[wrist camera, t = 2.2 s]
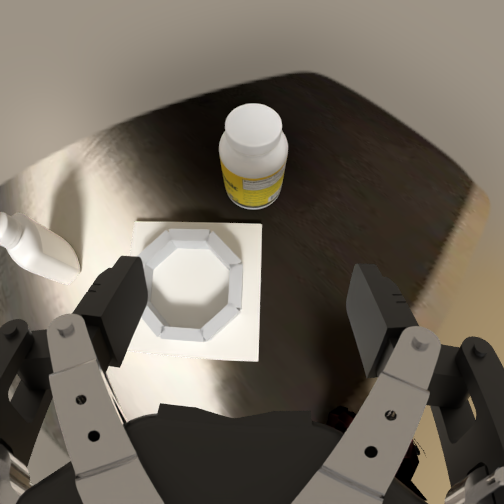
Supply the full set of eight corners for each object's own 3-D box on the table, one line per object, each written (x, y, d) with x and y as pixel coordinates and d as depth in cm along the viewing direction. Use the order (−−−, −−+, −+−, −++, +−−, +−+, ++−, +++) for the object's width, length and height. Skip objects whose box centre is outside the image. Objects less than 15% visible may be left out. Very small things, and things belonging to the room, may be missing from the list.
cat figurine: (392, 422, 24) (466, 459, 12) (345, 476, 22) (394, 540, 11) (341, 382, 25) (403, 410, 13) (290, 440, 24) (317, 504, 12)
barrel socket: (124, 350, 26) (110, 351, 23) (136, 223, 29) (125, 211, 26) (258, 360, 26) (259, 363, 23) (261, 226, 29) (263, 213, 26)
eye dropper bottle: (78, 229, 29) (8, 177, 17) (83, 282, 27) (4, 248, 16) (46, 241, 28) (-27, 197, 17) (50, 291, 27) (-32, 264, 15)
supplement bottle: (221, 166, 30) (211, 100, 21) (275, 159, 31) (284, 92, 21) (228, 215, 29) (219, 159, 20) (286, 207, 29) (301, 149, 20)
